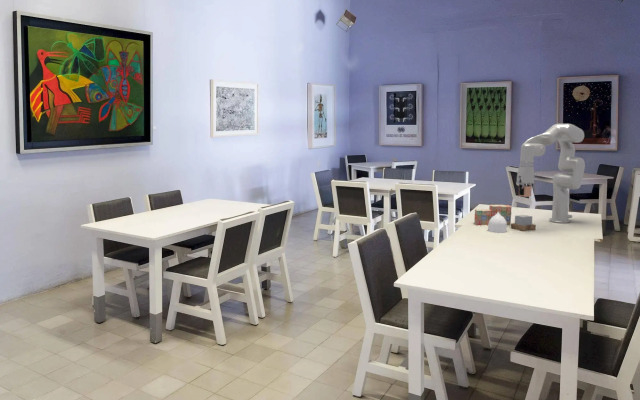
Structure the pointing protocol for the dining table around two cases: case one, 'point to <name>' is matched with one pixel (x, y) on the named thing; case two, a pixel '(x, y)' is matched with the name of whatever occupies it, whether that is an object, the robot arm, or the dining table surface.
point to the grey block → (523, 220)
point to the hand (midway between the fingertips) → (524, 194)
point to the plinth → (523, 227)
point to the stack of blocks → (492, 214)
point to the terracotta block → (527, 191)
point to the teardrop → (497, 224)
